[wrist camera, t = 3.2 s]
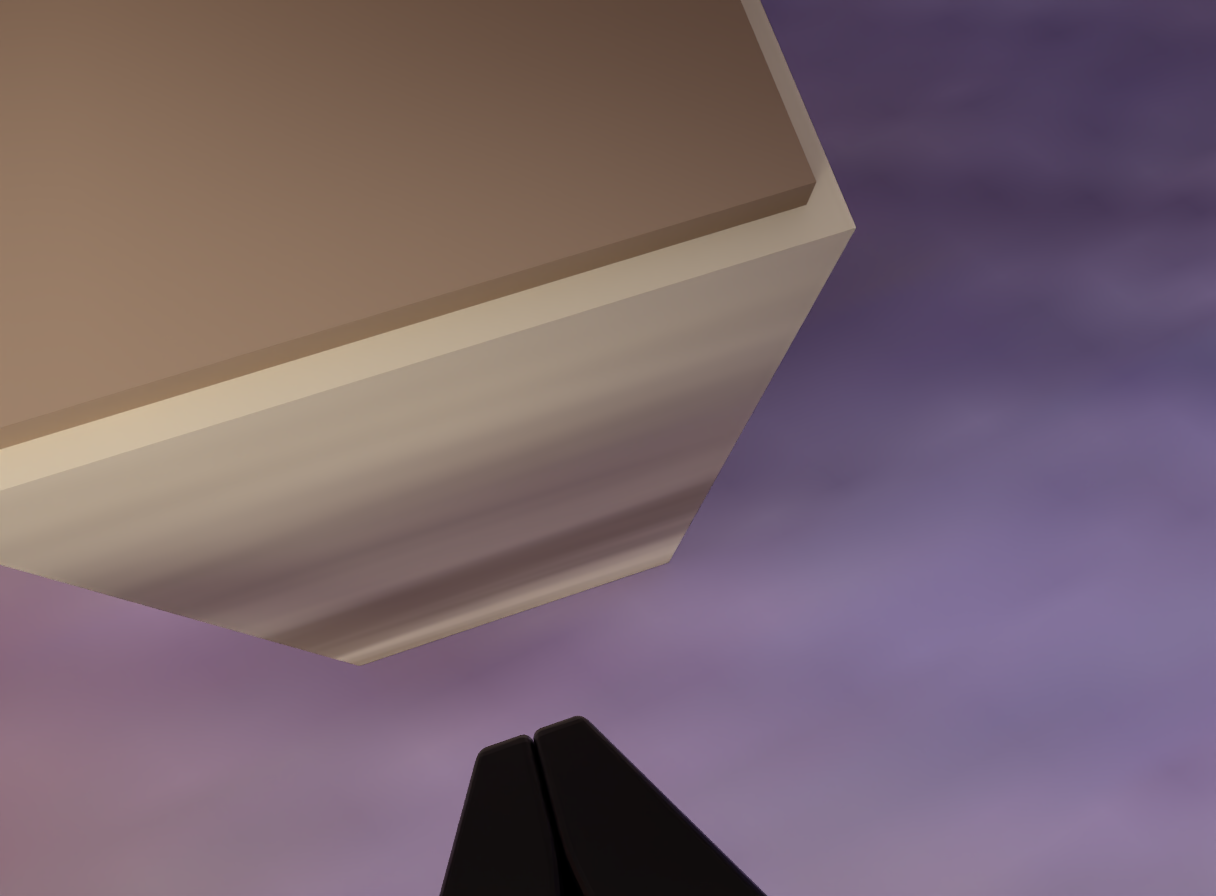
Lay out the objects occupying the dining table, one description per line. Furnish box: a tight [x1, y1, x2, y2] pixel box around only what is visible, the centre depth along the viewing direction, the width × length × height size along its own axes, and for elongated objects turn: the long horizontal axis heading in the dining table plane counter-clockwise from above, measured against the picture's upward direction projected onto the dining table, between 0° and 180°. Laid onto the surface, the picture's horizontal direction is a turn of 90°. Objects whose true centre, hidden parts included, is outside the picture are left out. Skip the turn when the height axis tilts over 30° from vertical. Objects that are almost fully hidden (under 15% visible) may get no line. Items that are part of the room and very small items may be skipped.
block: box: [0, 0, 856, 666], centre depth 12 cm, size 5×5×12 cm
